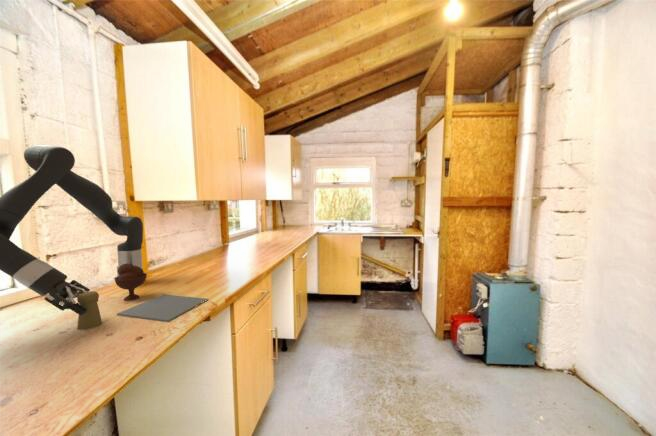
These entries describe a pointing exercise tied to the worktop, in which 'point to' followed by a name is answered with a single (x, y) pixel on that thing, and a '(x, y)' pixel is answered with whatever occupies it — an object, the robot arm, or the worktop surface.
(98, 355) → the worktop surface
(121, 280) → the ice cream bowl
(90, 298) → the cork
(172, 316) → the charcoal mat
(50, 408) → the worktop surface
